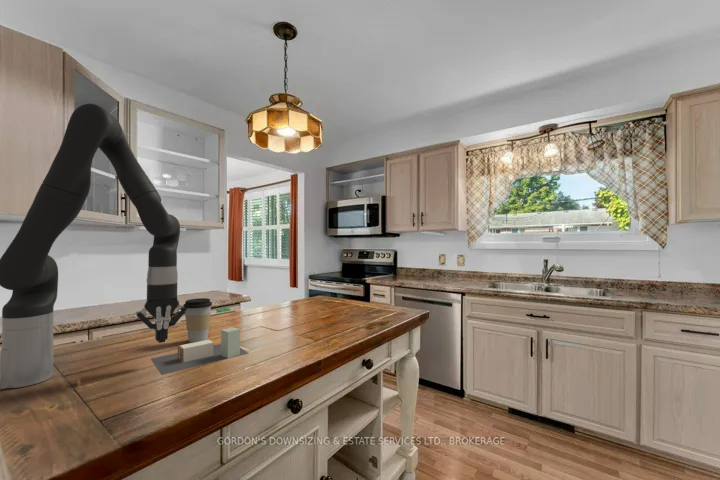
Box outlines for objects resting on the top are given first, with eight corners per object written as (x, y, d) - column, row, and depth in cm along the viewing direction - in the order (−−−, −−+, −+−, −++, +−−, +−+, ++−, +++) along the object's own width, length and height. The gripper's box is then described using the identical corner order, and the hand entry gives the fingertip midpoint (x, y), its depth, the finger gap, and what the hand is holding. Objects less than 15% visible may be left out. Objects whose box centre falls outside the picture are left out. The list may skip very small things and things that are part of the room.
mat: (161, 377, 84) (161, 374, 84) (150, 360, 96) (150, 358, 96) (249, 355, 100) (249, 353, 101) (230, 343, 112) (230, 341, 112)
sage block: (227, 358, 96) (227, 332, 96) (221, 355, 99) (221, 329, 99) (239, 354, 99) (239, 329, 99) (232, 352, 102) (232, 327, 102)
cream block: (181, 349, 93) (213, 342, 99) (177, 345, 96) (209, 339, 102) (181, 362, 93) (213, 355, 99) (177, 359, 96) (209, 352, 102)
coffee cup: (217, 338, 118) (217, 298, 119) (202, 346, 109) (202, 302, 109) (193, 337, 119) (193, 297, 120) (176, 345, 110) (176, 302, 110)
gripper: (137, 285, 84) (135, 350, 84) (191, 281, 93) (190, 340, 93) (132, 282, 90) (131, 343, 90) (184, 279, 99) (183, 334, 99)
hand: (161, 341), depth 91 cm, fingers closed
